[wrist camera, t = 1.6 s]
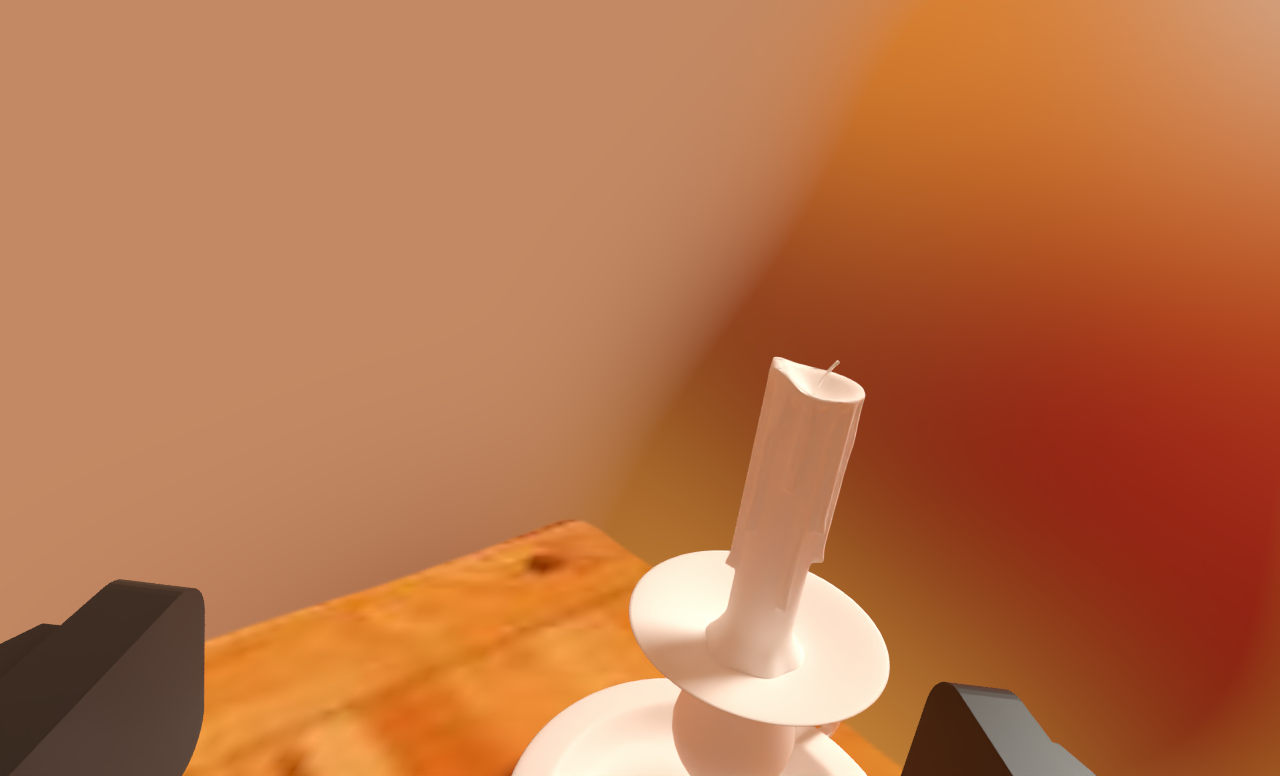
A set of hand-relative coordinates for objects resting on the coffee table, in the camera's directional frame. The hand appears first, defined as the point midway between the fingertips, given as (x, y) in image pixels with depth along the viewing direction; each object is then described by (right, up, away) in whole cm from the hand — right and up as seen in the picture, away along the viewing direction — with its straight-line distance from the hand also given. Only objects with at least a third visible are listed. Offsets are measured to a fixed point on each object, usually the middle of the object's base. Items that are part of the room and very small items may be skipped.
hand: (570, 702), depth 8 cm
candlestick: (+5, -21, +32) cm, 39 cm away
